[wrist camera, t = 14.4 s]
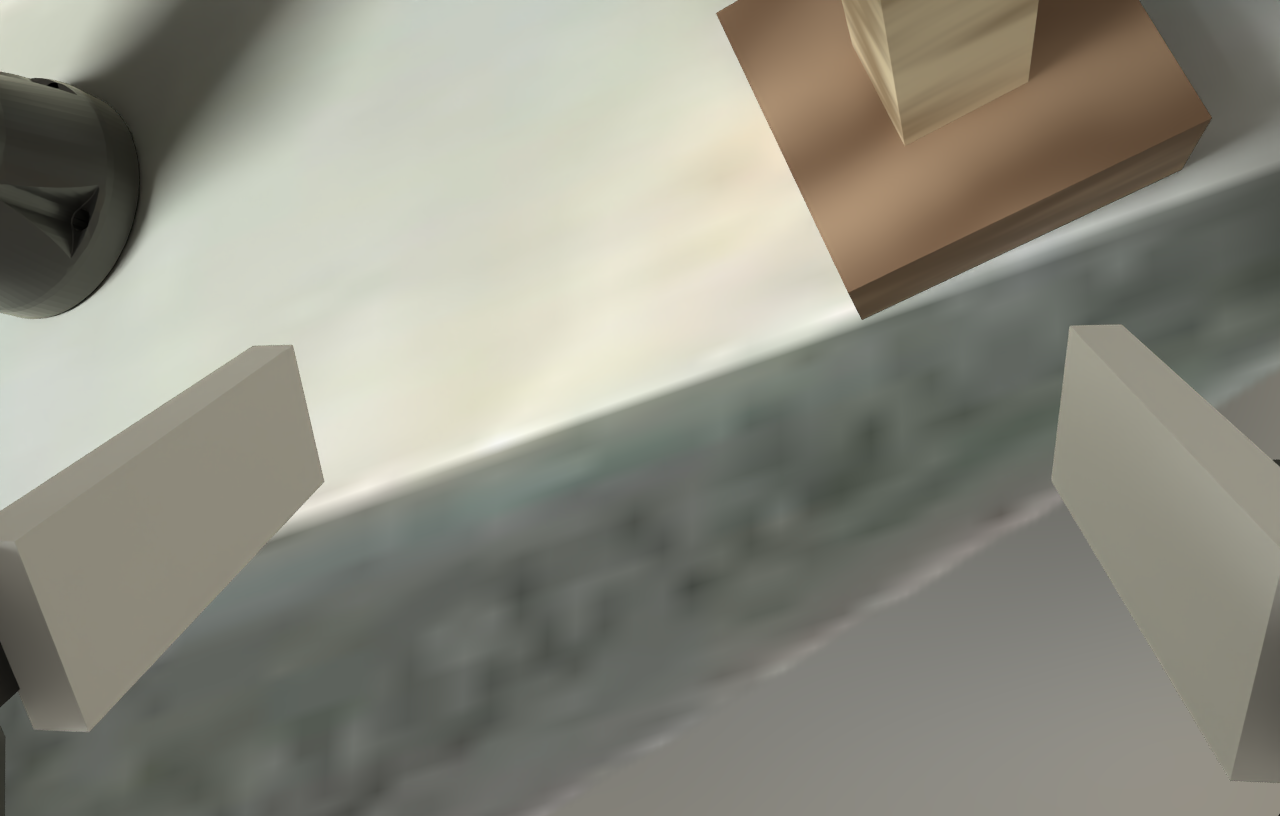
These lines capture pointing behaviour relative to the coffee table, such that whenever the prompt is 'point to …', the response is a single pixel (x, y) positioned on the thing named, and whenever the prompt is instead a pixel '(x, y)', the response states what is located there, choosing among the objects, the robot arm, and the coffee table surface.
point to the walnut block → (964, 139)
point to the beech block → (941, 55)
